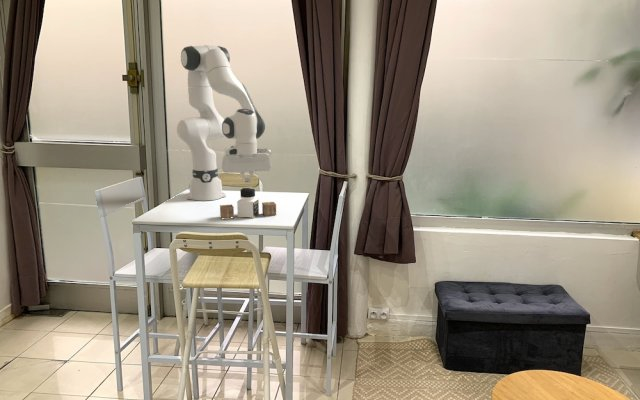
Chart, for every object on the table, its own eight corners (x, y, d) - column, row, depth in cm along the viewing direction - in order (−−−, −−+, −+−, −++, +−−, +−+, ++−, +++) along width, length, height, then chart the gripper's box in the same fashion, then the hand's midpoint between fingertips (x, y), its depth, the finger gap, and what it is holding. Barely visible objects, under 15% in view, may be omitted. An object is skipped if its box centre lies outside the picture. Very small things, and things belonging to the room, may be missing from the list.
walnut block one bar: (220, 216, 228) (219, 205, 226) (232, 215, 229) (231, 204, 228) (221, 219, 223) (221, 207, 222) (234, 218, 224) (233, 207, 223)
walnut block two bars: (262, 213, 233) (262, 202, 231) (273, 212, 234) (273, 201, 233) (264, 216, 228) (264, 205, 227) (276, 215, 229) (276, 204, 228)
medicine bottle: (253, 218, 224) (253, 190, 222) (237, 217, 226) (236, 189, 223) (259, 214, 231) (258, 187, 228) (243, 213, 233) (242, 186, 230)
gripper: (269, 147, 228) (270, 179, 231) (220, 148, 222) (221, 181, 225) (272, 149, 222) (273, 182, 225) (222, 151, 216) (223, 184, 220)
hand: (247, 181), depth 225 cm, fingers closed
